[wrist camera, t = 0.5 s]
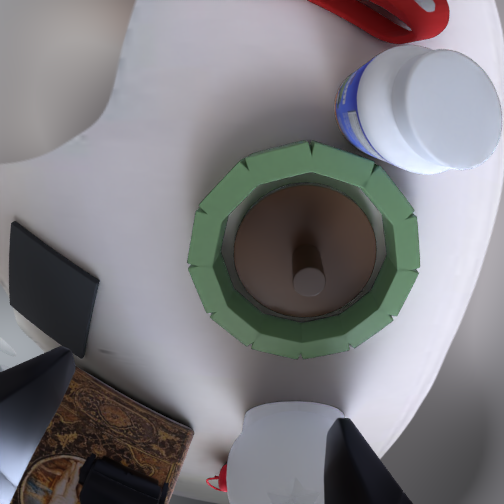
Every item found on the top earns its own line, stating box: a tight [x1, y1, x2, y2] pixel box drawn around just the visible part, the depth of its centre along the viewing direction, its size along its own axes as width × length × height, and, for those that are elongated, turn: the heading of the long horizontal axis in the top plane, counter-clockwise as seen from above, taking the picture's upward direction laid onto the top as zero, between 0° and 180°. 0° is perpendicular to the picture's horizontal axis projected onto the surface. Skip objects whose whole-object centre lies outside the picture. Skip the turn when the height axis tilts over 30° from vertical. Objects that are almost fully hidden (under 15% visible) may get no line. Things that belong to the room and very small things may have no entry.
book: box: [10, 366, 194, 504], centre depth 19 cm, size 16×6×25 cm, turn 60°
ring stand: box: [234, 183, 376, 317], centre depth 18 cm, size 9×9×4 cm
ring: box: [187, 140, 420, 359], centre depth 18 cm, size 14×14×2 cm
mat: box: [9, 221, 99, 359], centre depth 24 cm, size 11×11×1 cm
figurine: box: [226, 401, 344, 504], centre depth 20 cm, size 11×11×15 cm
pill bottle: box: [334, 45, 502, 174], centre depth 11 cm, size 5×5×10 cm
